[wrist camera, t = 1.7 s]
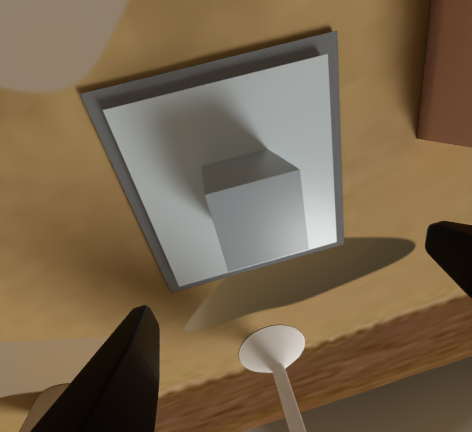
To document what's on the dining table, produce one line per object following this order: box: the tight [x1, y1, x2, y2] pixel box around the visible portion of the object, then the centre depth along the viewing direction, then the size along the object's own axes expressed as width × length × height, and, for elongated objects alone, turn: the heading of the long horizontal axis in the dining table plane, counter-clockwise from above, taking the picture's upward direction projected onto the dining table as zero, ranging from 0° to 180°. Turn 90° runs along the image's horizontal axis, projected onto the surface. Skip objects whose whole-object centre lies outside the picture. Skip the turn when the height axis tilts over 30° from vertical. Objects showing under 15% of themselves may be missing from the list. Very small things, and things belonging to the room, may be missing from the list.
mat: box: [80, 31, 344, 293], centre depth 16 cm, size 14×14×1 cm
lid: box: [103, 54, 337, 287], centre depth 13 cm, size 12×12×6 cm
